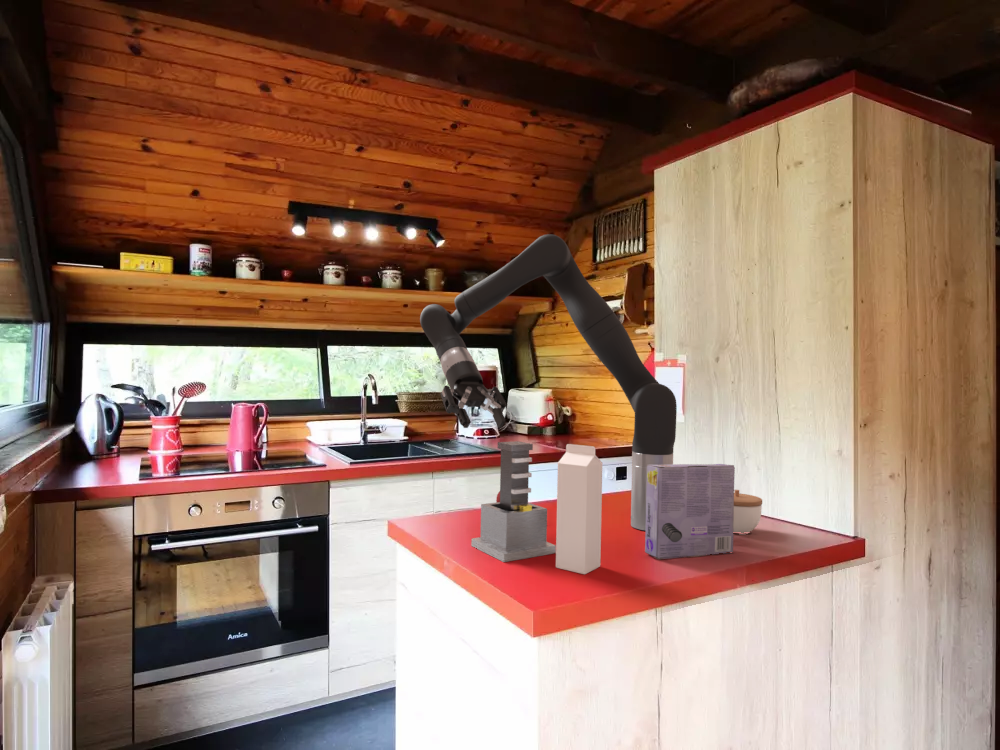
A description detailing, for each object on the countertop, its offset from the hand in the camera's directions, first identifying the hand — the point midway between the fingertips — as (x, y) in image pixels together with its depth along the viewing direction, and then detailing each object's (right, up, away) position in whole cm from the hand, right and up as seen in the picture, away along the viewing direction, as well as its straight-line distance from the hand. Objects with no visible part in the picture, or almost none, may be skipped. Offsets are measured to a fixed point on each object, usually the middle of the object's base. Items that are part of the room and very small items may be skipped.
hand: (485, 425), depth 129 cm
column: (+6, -22, -10) cm, 25 cm away
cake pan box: (+41, -25, -10) cm, 49 cm away
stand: (+6, -24, -10) cm, 26 cm away
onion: (+5, -24, +20) cm, 31 cm away
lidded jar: (+57, -25, +9) cm, 63 cm away
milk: (+17, -24, -20) cm, 36 cm away
